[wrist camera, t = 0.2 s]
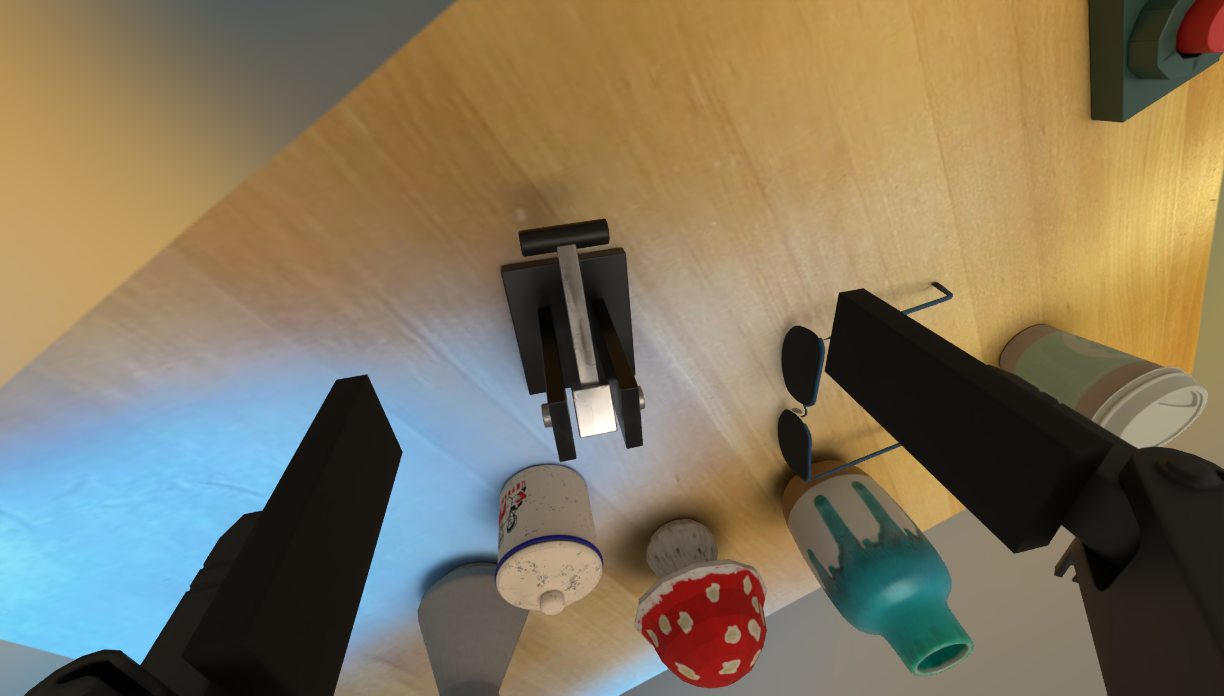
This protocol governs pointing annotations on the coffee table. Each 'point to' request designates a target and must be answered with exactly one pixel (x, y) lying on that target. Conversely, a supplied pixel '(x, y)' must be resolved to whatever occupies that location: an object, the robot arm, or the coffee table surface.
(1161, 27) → the button housing
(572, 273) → the lever
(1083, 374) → the coffee cup
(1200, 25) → the button
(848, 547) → the vase
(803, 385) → the sunglasses
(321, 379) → the coffee table surface
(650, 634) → the decorative mushroom
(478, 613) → the coffee pot
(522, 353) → the black lever stand
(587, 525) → the teacup with lid
